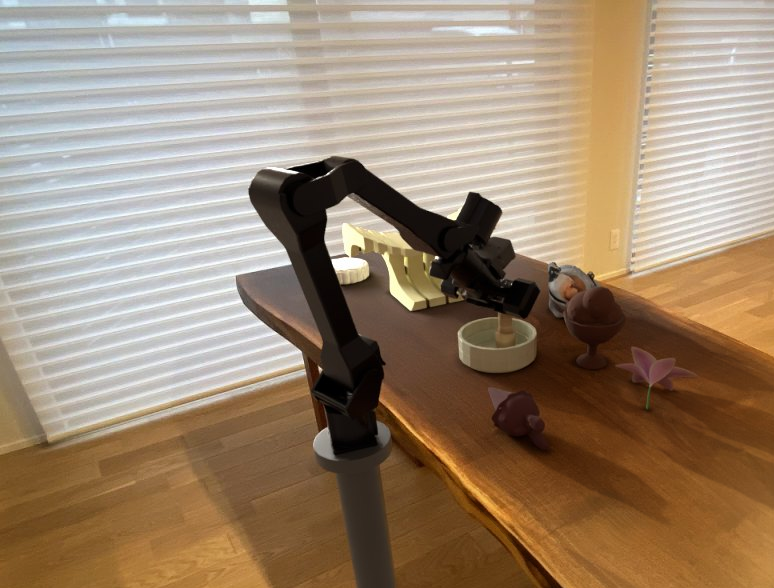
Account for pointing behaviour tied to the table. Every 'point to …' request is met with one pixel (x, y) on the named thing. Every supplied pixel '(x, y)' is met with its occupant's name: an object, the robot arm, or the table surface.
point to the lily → (654, 370)
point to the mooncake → (350, 270)
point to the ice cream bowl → (593, 322)
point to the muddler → (505, 332)
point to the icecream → (518, 415)
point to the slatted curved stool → (400, 266)
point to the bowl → (482, 349)
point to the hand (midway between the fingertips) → (509, 310)
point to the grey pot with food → (566, 286)
